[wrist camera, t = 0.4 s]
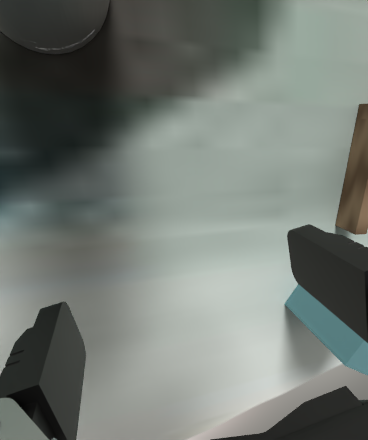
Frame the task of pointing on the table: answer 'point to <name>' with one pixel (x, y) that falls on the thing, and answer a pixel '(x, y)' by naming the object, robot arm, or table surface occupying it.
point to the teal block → (330, 330)
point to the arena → (356, 180)
